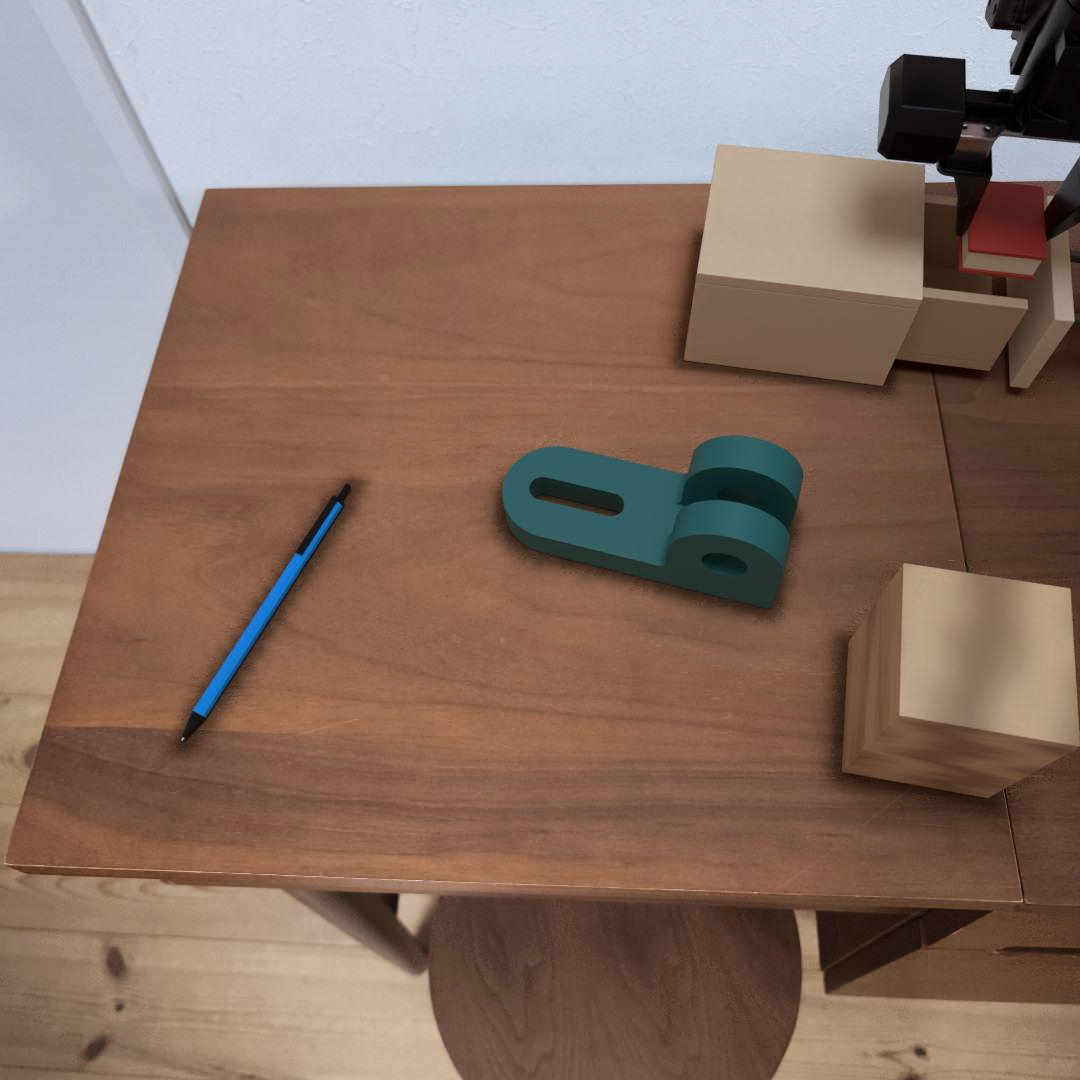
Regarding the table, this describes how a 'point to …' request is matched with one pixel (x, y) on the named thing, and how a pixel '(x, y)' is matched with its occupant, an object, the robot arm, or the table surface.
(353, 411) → the table surface
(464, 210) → the table surface
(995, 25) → the robot arm
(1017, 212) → the book
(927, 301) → the drawer
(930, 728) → the stand
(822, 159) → the cabinet
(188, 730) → the pen
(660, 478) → the bracket
